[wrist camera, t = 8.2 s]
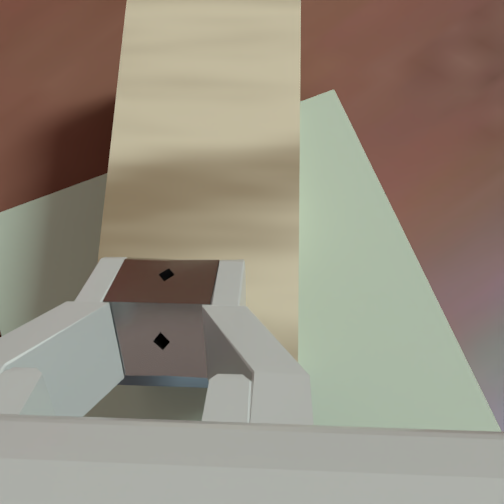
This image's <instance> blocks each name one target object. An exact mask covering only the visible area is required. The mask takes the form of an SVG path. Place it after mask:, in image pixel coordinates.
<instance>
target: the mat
mask: <svg viewBox="0 0 504 504" xmlns="http://www.w3.org/2000/svg"><path fill="white" fill-rule="evenodd" d="M106 182H107V173H106V174H103V175H100V176H98V177H95V178H92V179H90V180H87V181H84V182H81V183H79V184H76V185H73V186H71V187H68V188H65V189H63V190H60V191H57V192H54V193H52V194H49V195H46V196H44V197H41V198H38V199H35V200H33V201H30V202H27V203H25V204H22V205H19V206H16V207H14V208H11V209H8V210H6V211H3V212H0V332H1V336H3V335H5V334H7V333H9V332H11V331H13V330H15V329H16V328H18V327H20V326H22V325H24V324H26V323H28V322H29V321H31V320H33V319H35V318H37V317H39V316H41V315H42V314H44V313H46V312H48V311H50V310H52V309H53V308H55V307H57V306H59V305H61V304H63V303H65V302H66V301H75V299H76V297H77V296H78V294H79V293H80V291H81V289H82V288H83V286H84V284H85V283H86V281H87V280H88V278H89V276H90V275H91V273H92V272H93V270H94V268H95V267H96V265H97V262H98V253H99V244H100V235H101V226H102V217H103V208H104V199H105V191H106ZM298 363H299V364H300V365H301V366H302V367H303V369H304V370H305V371H306V372H307V373H308V374H309V375H310V386H311V398H312V411H313V423H314V425H325V426H352V427H379V428H412V429H439V430H467V431H494V432H502V431H501V429H500V427H499V425H498V423H497V421H496V419H495V417H494V415H493V413H492V411H491V409H490V407H489V405H488V403H487V401H486V399H485V397H484V395H483V393H482V391H481V389H480V387H479V385H478V382H477V380H476V378H475V376H474V374H473V372H472V370H471V368H470V366H469V364H468V362H467V360H466V358H465V356H464V354H463V352H462V350H461V348H460V346H459V344H458V342H457V340H456V338H455V336H454V333H453V331H452V329H451V327H450V325H449V323H448V321H447V319H446V317H445V315H444V313H443V311H442V309H441V307H440V305H439V303H438V301H437V299H436V297H435V295H434V293H433V291H432V289H431V286H430V284H429V282H428V280H427V278H426V276H425V274H424V272H423V270H422V268H421V266H420V264H419V262H418V260H417V258H416V256H415V254H414V252H413V250H412V248H411V246H410V244H409V242H408V240H407V237H406V235H405V233H404V231H403V229H402V227H401V225H400V223H399V221H398V219H397V217H396V215H395V213H394V211H393V209H392V207H391V205H390V203H389V201H388V199H387V197H386V195H385V193H384V191H383V188H382V186H381V184H380V182H379V180H378V178H377V176H376V174H375V172H374V170H373V168H372V166H371V164H370V162H369V160H368V158H367V156H366V154H365V152H364V150H363V148H362V146H361V144H360V142H359V139H358V137H357V135H356V133H355V131H354V129H353V127H352V125H351V123H350V121H349V119H348V117H347V115H346V113H345V111H344V109H343V107H342V105H341V103H340V101H339V99H338V97H337V95H336V92H335V90H331V91H328V92H325V93H323V94H320V95H317V96H315V97H312V98H309V99H306V100H304V101H301V102H300V175H299V301H298ZM207 389H208V388H195V387H166V386H137V385H116V386H115V387H114V388H113V389H112V390H111V391H110V392H109V393H108V394H107V395H106V396H104V397H103V398H102V399H101V400H100V401H99V402H98V403H97V404H96V405H95V406H94V407H93V408H92V409H91V410H90V411H88V412H87V413H86V414H85V415H84V416H83V417H106V418H135V419H163V420H190V421H202V416H203V411H204V405H205V400H206V395H207Z"/></svg>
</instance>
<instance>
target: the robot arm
mask: <svg viewBox="0 0 504 504" xmlns="http://www.w3.org/2000/svg"><path fill="white" fill-rule="evenodd" d="M124 375H129V376H166V375H167V376H180V377H197V378H208V381H209V384H208V389H207V395H206V400H205V405H204V411H203V416H202V421H190V420H163V419H135V418H106V417H83V416H84V415H85V414H86V413H87V412H88V411H90V410H91V409H92V408H93V407H94V406H95V405H96V404H97V403H98V402H99V401H100V400H101V399H102V398H103V397H104V396H106V395H107V394H108V393H109V392H110V391H111V390H112V389H113V388H114V387H115V386H116V385H117V384H118V383H119V382H120V381H121V380H123V379H124ZM0 504H504V432H494V431H467V430H439V429H412V428H379V427H352V426H325V425H314V423H313V411H312V398H311V386H310V375H309V374H308V373H307V372H306V371H305V370H304V369H303V367H302V366H301V365H300V364H299V363H298V362H297V361H296V360H295V359H294V358H293V357H292V355H291V354H290V353H289V352H288V351H287V350H286V349H285V348H284V347H283V346H282V344H281V343H280V342H279V341H278V340H277V339H276V338H275V337H274V336H273V335H272V333H271V332H270V331H269V330H268V329H267V328H266V327H265V326H264V325H263V324H262V323H261V321H260V320H259V319H258V318H257V317H256V316H255V315H254V314H253V313H252V312H251V310H250V309H249V308H248V307H247V306H246V273H245V261H244V259H237V260H174V259H155V258H131V257H128V258H126V257H103V258H101V259H100V260H99V262H98V263H97V265H96V267H95V268H94V270H93V272H92V273H91V275H90V276H89V278H88V280H87V281H86V283H85V284H84V286H83V288H82V289H81V291H80V293H79V294H78V296H77V297H76V299H75V301H66V302H65V303H63V304H61V305H59V306H57V307H55V308H53V309H52V310H50V311H48V312H46V313H44V314H42V315H41V316H39V317H37V318H35V319H33V320H31V321H29V322H28V323H26V324H24V325H22V326H20V327H18V328H16V329H15V330H13V331H11V332H9V333H7V334H5V335H3V336H2V337H0Z"/></svg>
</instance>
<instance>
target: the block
mask: <svg viewBox="0 0 504 504" xmlns="http://www.w3.org/2000/svg"><path fill="white" fill-rule="evenodd" d="M300 49H301V0H127V3H126V12H125V21H124V30H123V39H122V48H121V57H120V66H119V75H118V84H117V93H116V101H115V110H114V119H113V128H112V137H111V146H110V155H109V164H108V173H107V182H106V191H105V199H104V208H103V217H102V226H101V235H100V244H99V253H98V262H99V260H100V259H101V258H103V257H126V258H128V257H131V258H155V259H174V260H237V259H244V261H245V273H246V306H247V307H248V308H249V309H250V310H251V312H252V313H253V314H254V315H255V316H256V317H257V318H258V319H259V320H260V321H261V323H262V324H263V325H264V326H265V327H266V328H267V329H268V330H269V331H270V332H271V333H272V335H273V336H274V337H275V338H276V339H277V340H278V341H279V342H280V343H281V344H282V346H283V347H284V348H285V349H286V350H287V351H288V352H289V353H290V354H291V355H292V357H293V358H294V359H295V360H296V361H297V362H298V301H299V175H300ZM98 262H97V263H98ZM208 384H209V381H208V378H197V377H180V376H167V375H166V376H129V375H124V379H123V380H121V381H120V382H119V383H118V384H117V385H137V386H166V387H195V388H208Z"/></svg>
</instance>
